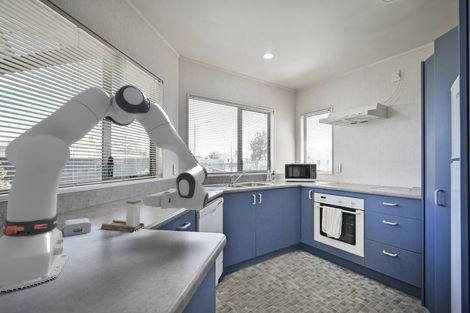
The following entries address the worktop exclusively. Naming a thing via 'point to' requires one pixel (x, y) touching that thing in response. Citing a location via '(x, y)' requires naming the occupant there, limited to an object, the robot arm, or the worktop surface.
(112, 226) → the track
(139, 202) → the white upright block
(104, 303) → the worktop surface
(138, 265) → the worktop surface
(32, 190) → the robot arm
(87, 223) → the charger
